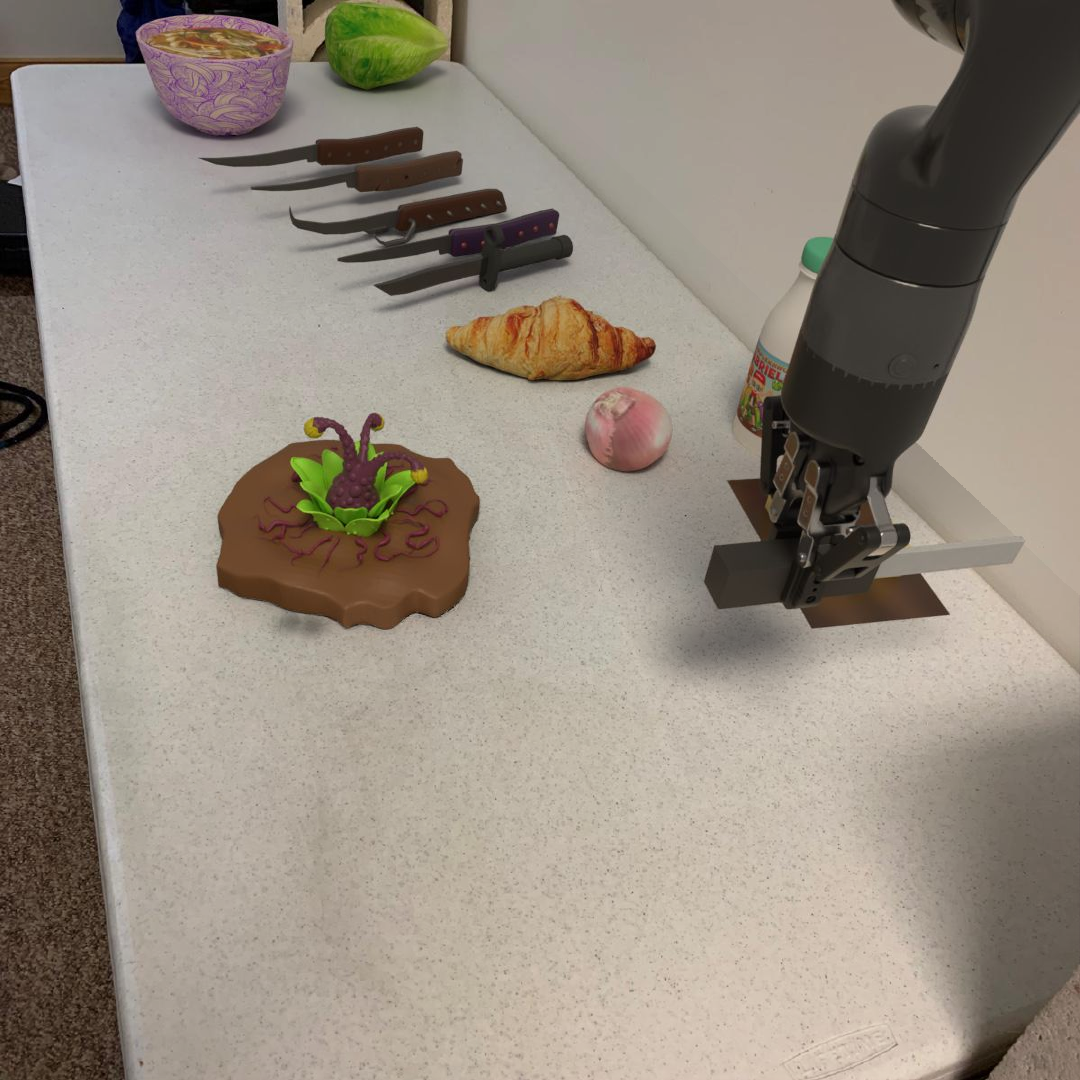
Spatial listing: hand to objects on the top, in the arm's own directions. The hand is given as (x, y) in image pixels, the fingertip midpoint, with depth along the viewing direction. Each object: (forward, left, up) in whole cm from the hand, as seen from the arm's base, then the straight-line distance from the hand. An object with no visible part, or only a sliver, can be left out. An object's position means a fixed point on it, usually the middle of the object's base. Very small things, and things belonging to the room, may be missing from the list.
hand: (786, 585), depth 60 cm
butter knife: (-5, 0, 0) cm, 6 cm away
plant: (+25, -21, -13) cm, 35 cm away
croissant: (+3, -46, -13) cm, 48 cm away
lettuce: (+10, -129, -13) cm, 130 cm away
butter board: (-14, -15, -13) cm, 25 cm away
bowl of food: (+35, -109, -13) cm, 115 cm away
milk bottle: (-15, -30, -13) cm, 37 cm away
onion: (0, -29, -13) cm, 32 cm away
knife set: (+15, -75, -13) cm, 78 cm away
